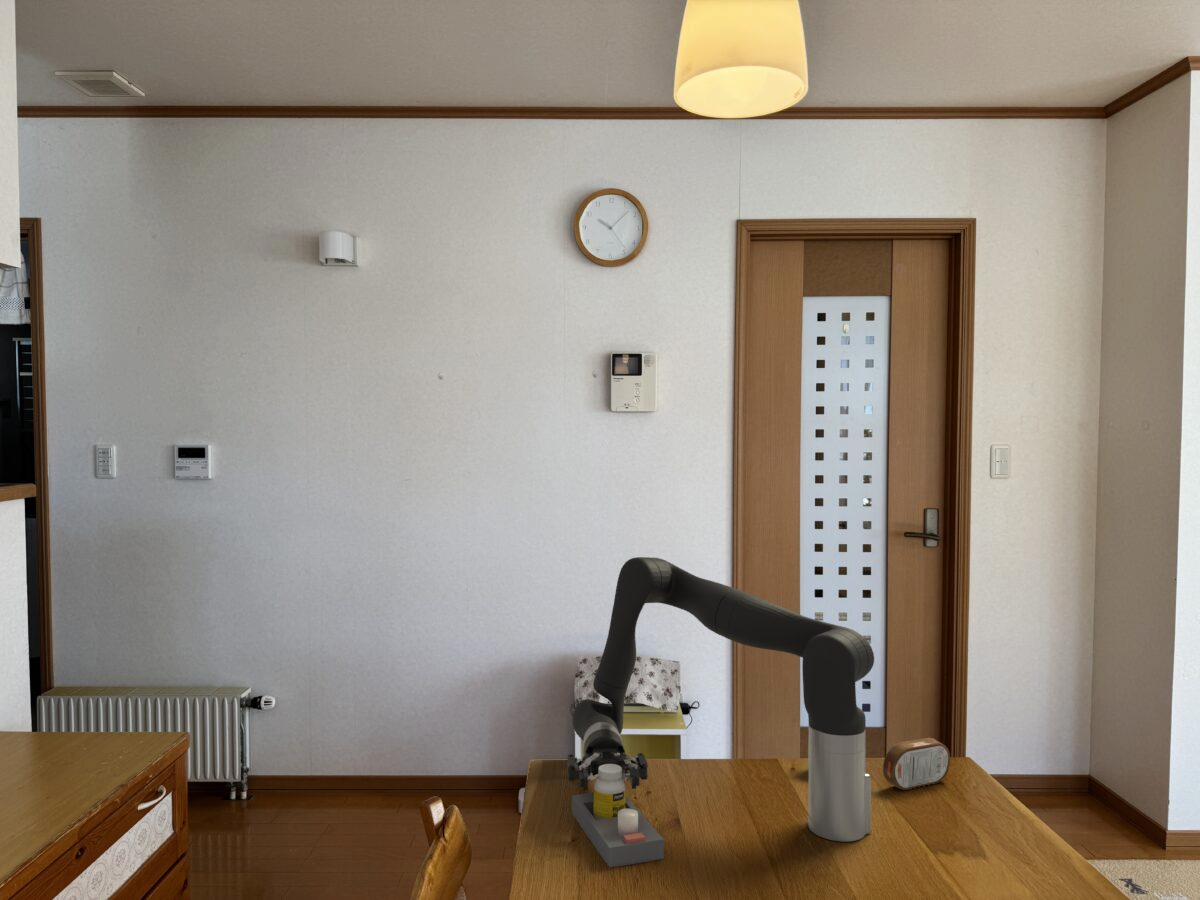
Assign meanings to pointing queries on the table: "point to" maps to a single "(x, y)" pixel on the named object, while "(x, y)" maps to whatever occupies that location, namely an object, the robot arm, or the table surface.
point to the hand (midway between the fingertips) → (610, 783)
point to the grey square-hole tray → (619, 833)
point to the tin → (916, 763)
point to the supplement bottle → (609, 792)
